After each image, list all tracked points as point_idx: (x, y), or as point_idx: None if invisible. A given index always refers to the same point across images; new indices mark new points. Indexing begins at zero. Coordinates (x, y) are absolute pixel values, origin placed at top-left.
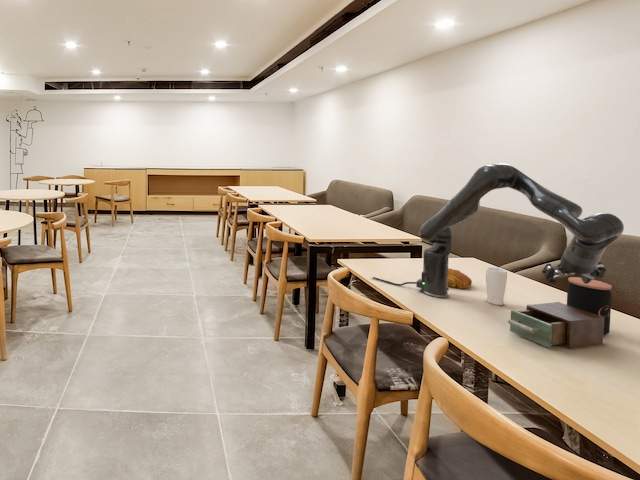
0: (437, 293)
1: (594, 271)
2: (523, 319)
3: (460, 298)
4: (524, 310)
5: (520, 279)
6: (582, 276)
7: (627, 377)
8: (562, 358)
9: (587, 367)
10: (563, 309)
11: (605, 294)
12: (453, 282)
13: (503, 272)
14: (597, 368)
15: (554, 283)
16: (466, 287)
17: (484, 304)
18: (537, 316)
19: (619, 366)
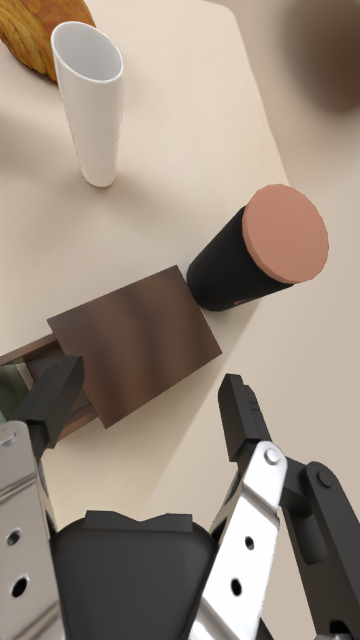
0: None
1: (305, 497)
2: None
3: (11, 146)
4: (23, 348)
5: (242, 55)
6: (232, 393)
7: (138, 507)
8: (52, 473)
9: (82, 498)
10: (152, 324)
11: (285, 287)
12: (33, 55)
13: (97, 84)
14: (103, 491)
15: (79, 389)
16: None
17: (62, 183)
18: None
19: (157, 455)
